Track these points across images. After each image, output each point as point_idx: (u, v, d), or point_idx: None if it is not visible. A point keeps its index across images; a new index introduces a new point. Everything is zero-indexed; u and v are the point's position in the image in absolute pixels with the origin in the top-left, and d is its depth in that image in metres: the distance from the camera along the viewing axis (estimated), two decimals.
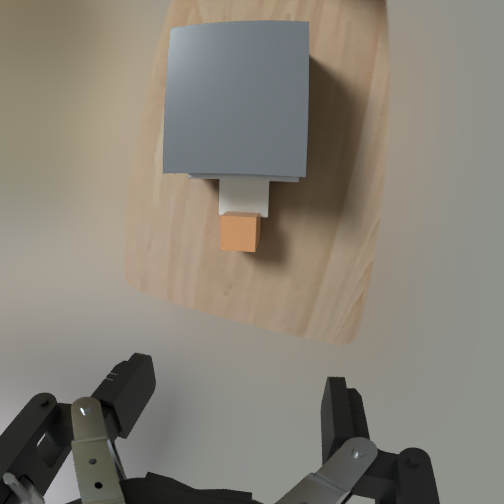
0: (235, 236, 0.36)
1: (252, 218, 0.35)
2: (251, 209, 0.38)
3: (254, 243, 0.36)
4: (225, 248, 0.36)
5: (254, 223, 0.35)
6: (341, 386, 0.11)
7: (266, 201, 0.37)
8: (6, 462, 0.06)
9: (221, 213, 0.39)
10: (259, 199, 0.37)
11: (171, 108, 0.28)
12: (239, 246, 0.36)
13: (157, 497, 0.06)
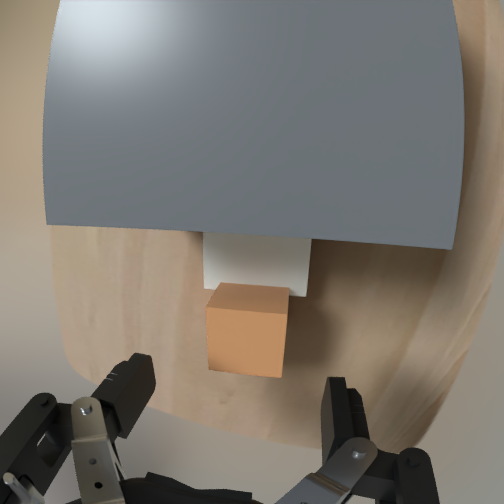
0: (239, 349, 0.16)
1: (278, 316, 0.15)
2: (272, 280, 0.18)
3: (280, 362, 0.16)
4: (218, 367, 0.16)
5: (282, 326, 0.15)
6: (341, 386, 0.11)
7: (305, 264, 0.17)
8: (6, 462, 0.06)
9: (209, 286, 0.18)
10: (290, 260, 0.17)
11: (63, 49, 0.08)
12: (248, 366, 0.16)
13: (157, 497, 0.06)
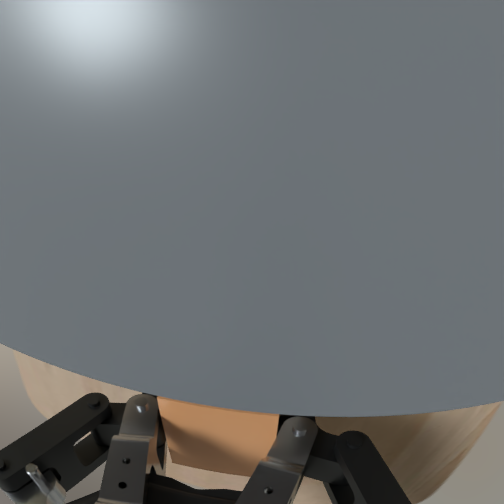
0: (210, 449, 0.10)
1: (265, 417, 0.09)
2: None
3: None
4: (184, 462, 0.10)
5: (271, 429, 0.09)
6: None
7: None
8: (34, 453, 0.06)
9: None
10: None
11: None
12: (225, 465, 0.10)
13: (157, 497, 0.06)
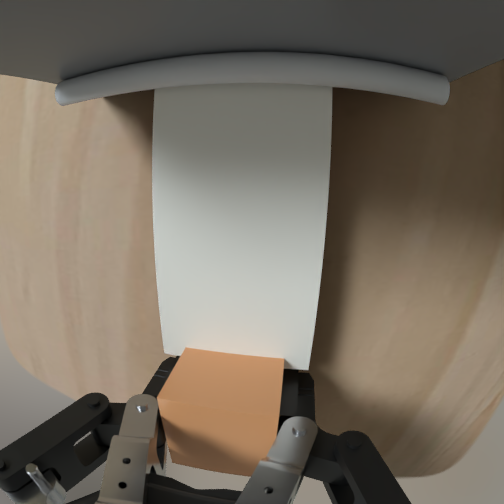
0: (211, 449, 0.10)
1: (265, 417, 0.09)
2: (259, 349, 0.12)
3: None
4: (185, 462, 0.10)
5: (271, 429, 0.09)
6: (293, 369, 0.12)
7: (308, 329, 0.11)
8: (34, 453, 0.06)
9: (170, 351, 0.12)
10: (286, 322, 0.11)
11: None
12: (225, 465, 0.10)
13: (157, 497, 0.06)
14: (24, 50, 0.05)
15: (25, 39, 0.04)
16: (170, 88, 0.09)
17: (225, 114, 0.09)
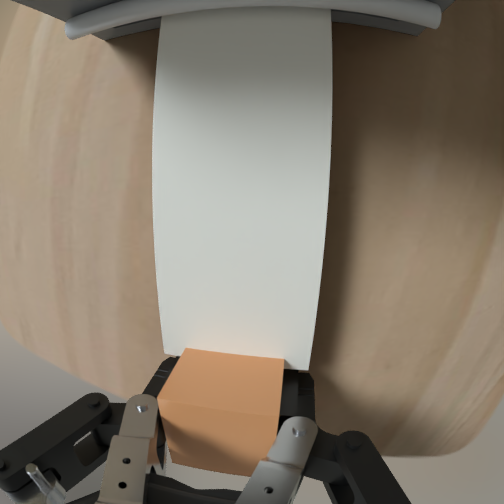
0: (210, 449, 0.10)
1: (265, 417, 0.09)
2: (259, 349, 0.12)
3: None
4: (185, 462, 0.10)
5: (271, 429, 0.09)
6: (293, 370, 0.12)
7: (308, 329, 0.11)
8: (34, 453, 0.06)
9: (171, 351, 0.12)
10: (286, 323, 0.11)
11: None
12: (225, 465, 0.10)
13: (157, 497, 0.06)
14: None
15: None
16: (170, 88, 0.09)
17: (225, 115, 0.09)
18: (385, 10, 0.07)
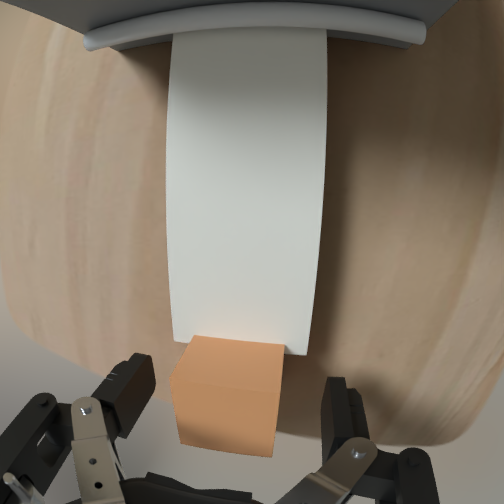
0: (217, 427, 0.11)
1: (267, 394, 0.10)
2: (262, 335, 0.13)
3: (271, 443, 0.11)
4: (192, 443, 0.11)
5: (273, 406, 0.10)
6: (341, 386, 0.11)
7: (306, 316, 0.13)
8: (6, 462, 0.06)
9: (180, 338, 0.14)
10: (286, 310, 0.13)
11: None
12: (230, 444, 0.11)
13: (157, 497, 0.06)
14: None
15: None
16: (182, 99, 0.11)
17: (232, 124, 0.11)
18: (375, 30, 0.08)
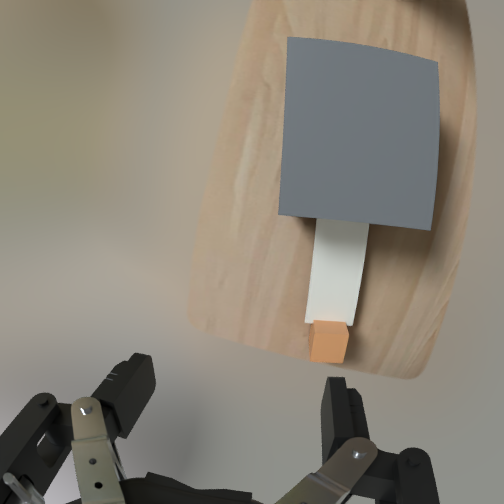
0: (326, 350, 0.34)
1: (345, 335, 0.34)
2: (338, 318, 0.37)
3: (343, 356, 0.34)
4: (314, 360, 0.35)
5: (346, 339, 0.34)
6: (341, 386, 0.11)
7: (353, 311, 0.36)
8: (6, 462, 0.06)
9: (307, 321, 0.37)
10: (347, 310, 0.36)
11: (292, 137, 0.25)
12: (329, 358, 0.35)
13: (157, 497, 0.06)
14: None
15: None
16: (320, 240, 0.34)
17: (336, 250, 0.35)
18: None
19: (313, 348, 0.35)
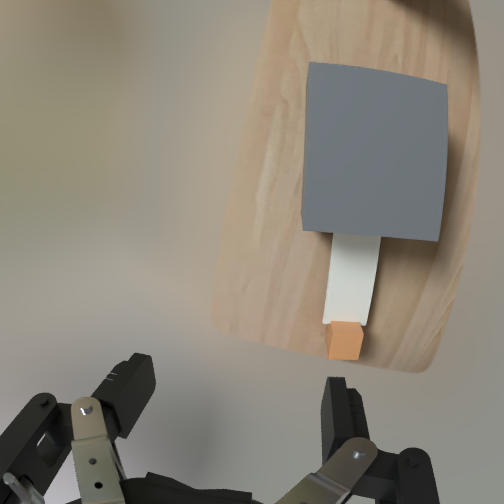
0: (343, 349, 0.37)
1: (360, 335, 0.36)
2: (353, 319, 0.39)
3: (358, 353, 0.37)
4: (332, 357, 0.38)
5: (361, 338, 0.37)
6: (341, 386, 0.11)
7: (367, 312, 0.39)
8: (6, 462, 0.06)
9: (325, 322, 0.40)
10: (361, 311, 0.39)
11: (315, 159, 0.27)
12: (345, 356, 0.37)
13: (157, 497, 0.06)
14: None
15: None
16: (337, 248, 0.37)
17: (351, 257, 0.37)
18: None
19: (331, 347, 0.37)
